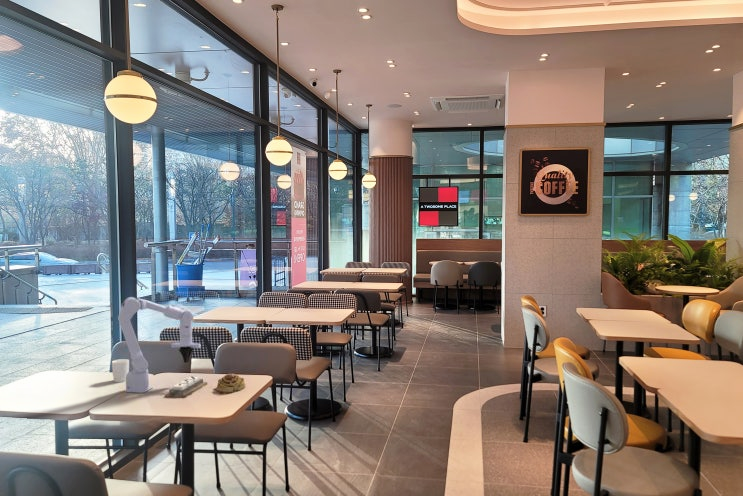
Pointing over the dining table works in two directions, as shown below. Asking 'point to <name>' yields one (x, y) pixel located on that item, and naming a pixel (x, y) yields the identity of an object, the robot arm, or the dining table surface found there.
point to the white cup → (120, 369)
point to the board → (186, 390)
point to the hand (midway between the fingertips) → (186, 362)
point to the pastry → (230, 384)
